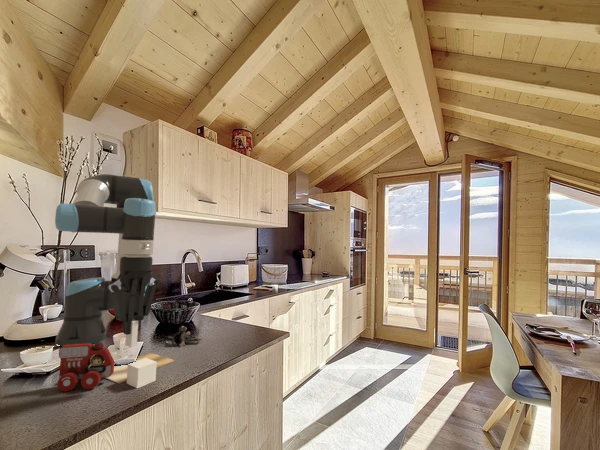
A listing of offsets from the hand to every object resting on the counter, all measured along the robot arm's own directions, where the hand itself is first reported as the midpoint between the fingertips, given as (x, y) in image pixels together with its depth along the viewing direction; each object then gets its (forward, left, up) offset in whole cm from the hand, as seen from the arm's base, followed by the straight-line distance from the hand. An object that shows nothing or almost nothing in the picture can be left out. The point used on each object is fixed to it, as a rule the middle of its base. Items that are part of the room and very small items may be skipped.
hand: (130, 345), depth 73 cm
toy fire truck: (-10, -5, -10) cm, 15 cm away
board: (-9, +8, -10) cm, 16 cm away
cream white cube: (+1, +3, -10) cm, 11 cm away
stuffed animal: (-16, +30, -11) cm, 35 cm away
